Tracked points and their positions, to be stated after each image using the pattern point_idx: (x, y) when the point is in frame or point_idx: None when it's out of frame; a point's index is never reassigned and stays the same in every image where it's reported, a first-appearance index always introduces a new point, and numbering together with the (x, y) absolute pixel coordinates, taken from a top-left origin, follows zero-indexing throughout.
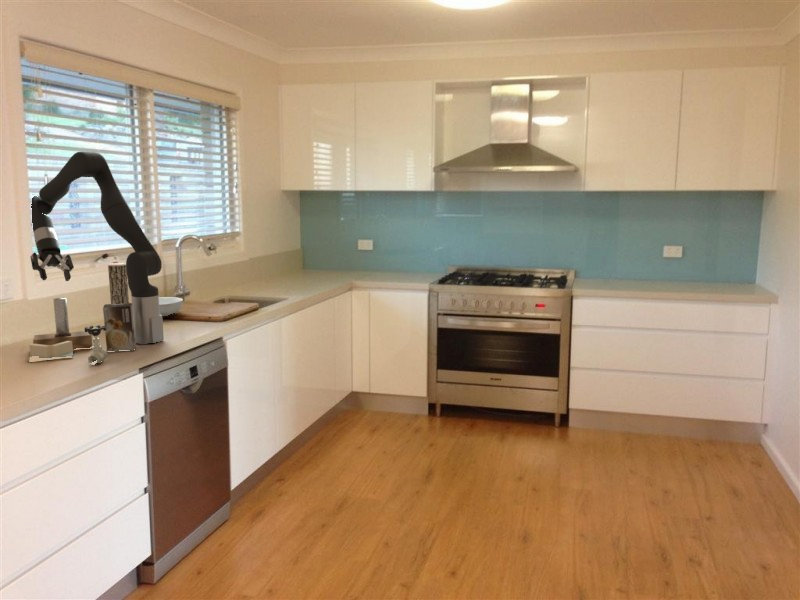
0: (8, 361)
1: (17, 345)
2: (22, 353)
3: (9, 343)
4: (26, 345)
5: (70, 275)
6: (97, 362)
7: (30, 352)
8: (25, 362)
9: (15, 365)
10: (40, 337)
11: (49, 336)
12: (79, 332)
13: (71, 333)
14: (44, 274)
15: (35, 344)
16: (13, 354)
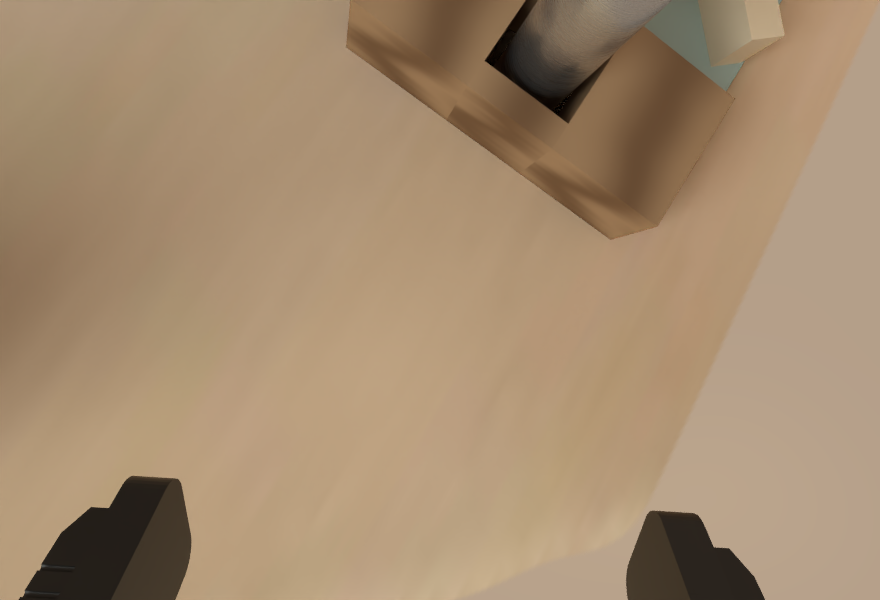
0: (819, 112)
1: (619, 433)
2: (701, 212)
3: (618, 531)
4: (590, 386)
5: (41, 569)
6: None
7: (751, 54)
8: (784, 15)
9: (836, 6)
10: (672, 126)
11: (625, 99)
12: (440, 21)
13: (491, 44)
14: (725, 575)
15: (760, 15)
16: (737, 234)
